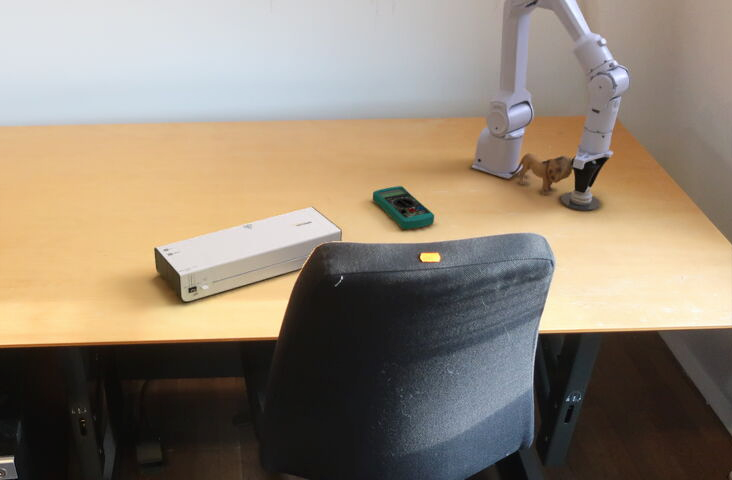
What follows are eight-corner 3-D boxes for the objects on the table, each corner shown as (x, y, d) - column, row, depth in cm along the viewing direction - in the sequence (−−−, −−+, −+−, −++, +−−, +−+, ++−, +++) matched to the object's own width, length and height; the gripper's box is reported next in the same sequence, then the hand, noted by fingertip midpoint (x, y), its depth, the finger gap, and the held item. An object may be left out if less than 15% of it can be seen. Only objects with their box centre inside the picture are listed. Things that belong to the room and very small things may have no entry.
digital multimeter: (403, 232, 175) (405, 219, 173) (371, 201, 186) (372, 188, 184) (435, 226, 177) (437, 213, 175) (401, 195, 188) (402, 183, 186)
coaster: (554, 203, 185) (554, 201, 185) (570, 190, 190) (570, 188, 190) (590, 214, 181) (590, 212, 181) (604, 201, 186) (605, 199, 186)
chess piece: (574, 205, 184) (585, 162, 178) (566, 196, 187) (577, 153, 181) (594, 204, 184) (605, 161, 178) (586, 195, 187) (597, 152, 181)
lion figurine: (571, 194, 189) (580, 155, 184) (558, 201, 186) (567, 163, 181) (514, 173, 198) (521, 135, 192) (501, 180, 195) (508, 142, 189)
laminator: (310, 233, 174) (311, 205, 171) (343, 260, 166) (345, 232, 162) (156, 275, 161) (153, 246, 157) (183, 307, 153) (181, 278, 149)
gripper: (603, 144, 169) (587, 206, 177) (630, 122, 178) (614, 182, 186) (569, 134, 173) (555, 196, 181) (598, 113, 182) (583, 173, 190)
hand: (583, 188), depth 184 cm, fingers closed on chess piece, 3 cm apart
